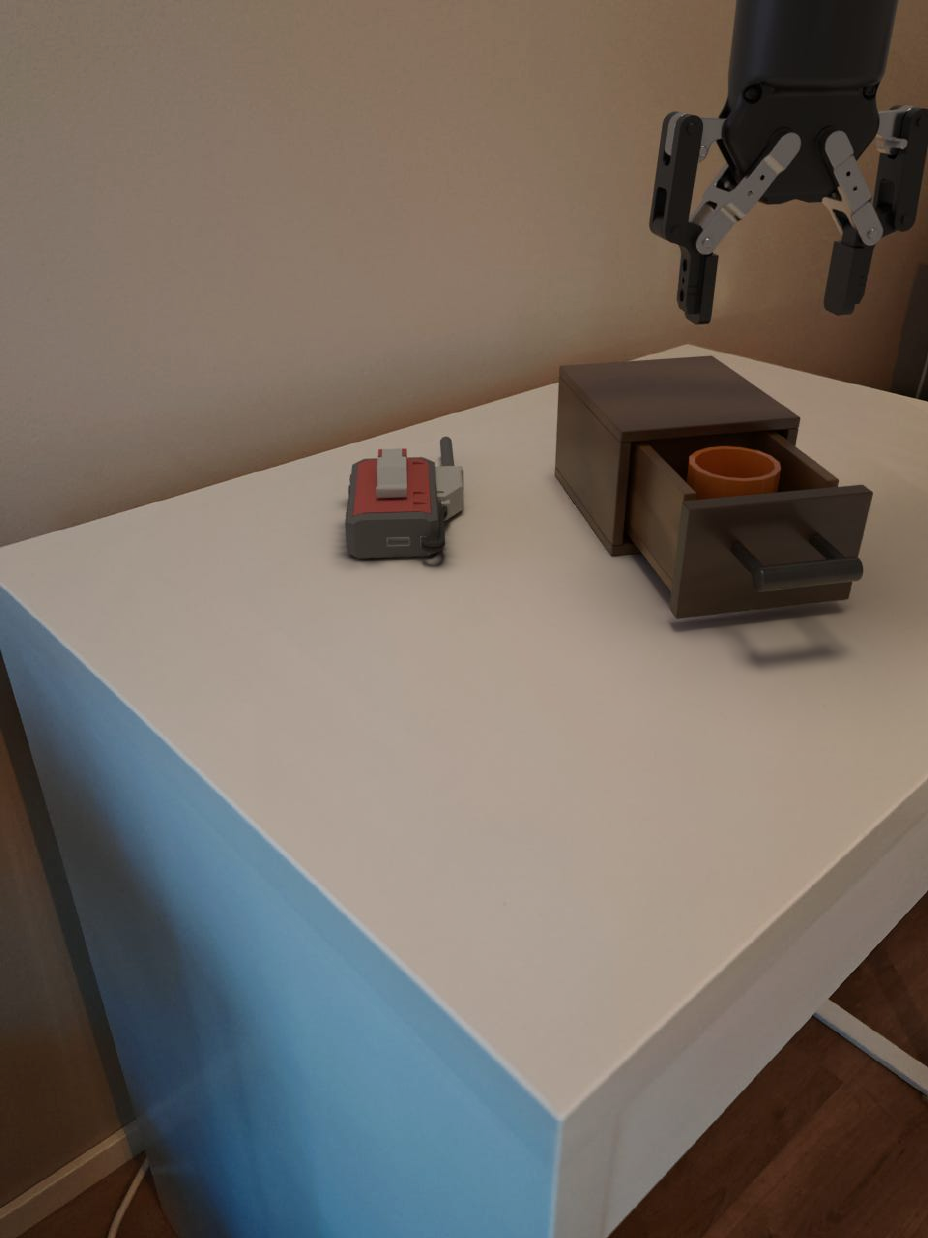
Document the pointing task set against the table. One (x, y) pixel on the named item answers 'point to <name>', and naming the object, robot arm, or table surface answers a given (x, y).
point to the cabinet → (646, 425)
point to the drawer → (744, 529)
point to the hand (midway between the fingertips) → (768, 316)
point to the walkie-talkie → (402, 503)
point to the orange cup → (732, 472)
